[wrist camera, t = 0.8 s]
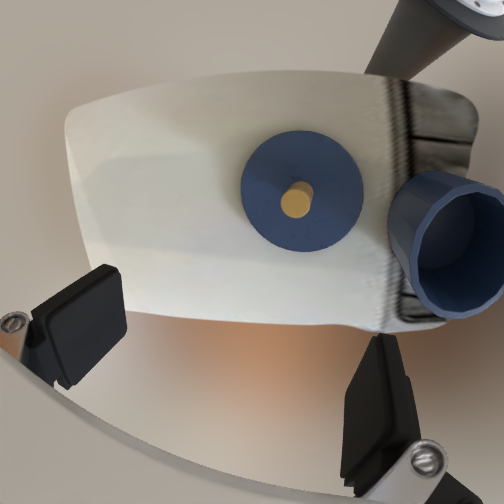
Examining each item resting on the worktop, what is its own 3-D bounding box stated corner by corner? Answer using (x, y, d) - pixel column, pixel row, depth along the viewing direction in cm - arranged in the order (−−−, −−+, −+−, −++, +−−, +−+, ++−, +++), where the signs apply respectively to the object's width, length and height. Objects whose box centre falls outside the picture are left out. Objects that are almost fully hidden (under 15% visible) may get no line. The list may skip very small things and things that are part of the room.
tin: (396, 160, 25) (426, 168, 16) (485, 184, 23) (533, 202, 14) (377, 265, 29) (392, 311, 21) (461, 278, 27) (494, 322, 18)
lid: (247, 126, 28) (225, 122, 22) (368, 140, 25) (380, 138, 19) (240, 239, 32) (219, 262, 26) (351, 256, 30) (356, 284, 24)
